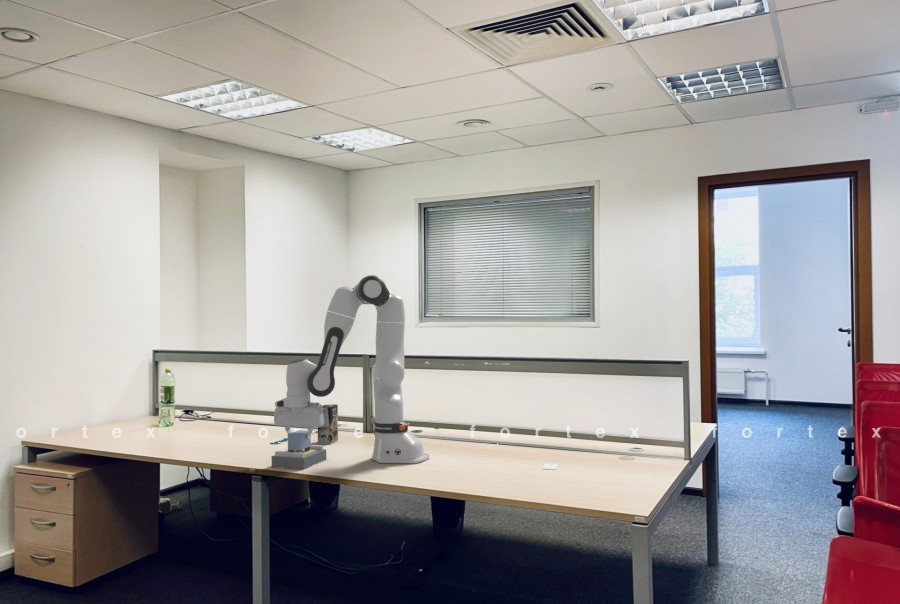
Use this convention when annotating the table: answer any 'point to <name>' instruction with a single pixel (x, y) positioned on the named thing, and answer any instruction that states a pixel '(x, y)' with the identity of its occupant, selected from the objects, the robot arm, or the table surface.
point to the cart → (298, 441)
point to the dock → (299, 458)
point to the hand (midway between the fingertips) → (299, 438)
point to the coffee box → (329, 425)
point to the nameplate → (280, 441)
